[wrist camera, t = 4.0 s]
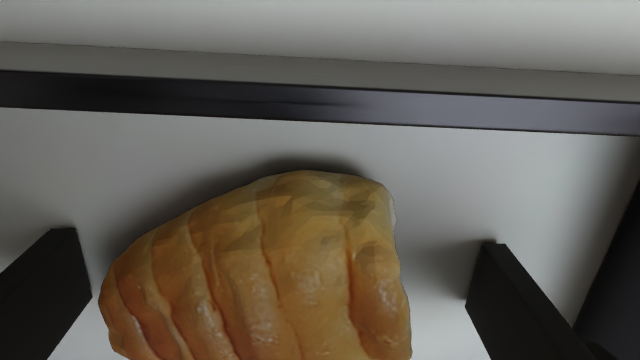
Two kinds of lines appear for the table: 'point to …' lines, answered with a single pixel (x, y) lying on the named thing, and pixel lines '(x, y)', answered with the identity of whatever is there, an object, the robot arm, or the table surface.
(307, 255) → the pastry
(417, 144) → the table surface
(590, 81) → the pan
